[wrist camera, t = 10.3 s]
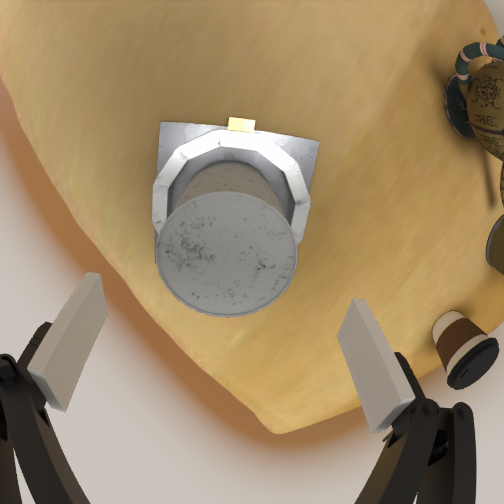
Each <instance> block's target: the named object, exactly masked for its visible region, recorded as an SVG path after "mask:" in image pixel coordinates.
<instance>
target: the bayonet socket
mask: <svg viewBox="0 0 504 504" xmlns="http://www.w3.org/2000/svg"><path fill="white" fill-rule="evenodd" d="M254 125H255V120H249V119H241V118H233V117H230V118H229V125H228V126H219V125H209V124H197V123H183V122H164V121H162V122H161V125H160V135H159V147H158V161H157V178H156V180H155V181H154V184H153V203H152V222H153V225H154V227H155V263H156V243H157V239H158V235H159V232H160V230H161V228H162V226H163V225H164V223H165V221H166V219H167V218H168V217H169V216H170V215H171V213H172V212H173V210H174V208H175V206H176V205H177V203H178V201H179V199H180V198H181V196H182V194H183V193H184V191H185V189H186V187H187V184H188V183H189V181H190V179H191V178H192V176H193V175H194V174H195V173H196V172H197V171H198V170H199V169H200V168H202V167H203V166H205V165H206V164H208V163H210V162H213V161H216V160H220V159H229V158H230V159H238V160H242V161H245V162H248V163H251V164H252V165H254V166H255V167H257V168H258V169H260V170H261V172H262V173H263V174H264V175H265V176H266V177H267V179H268V180H269V182H270V184H271V185H272V189H273V192H274V194H275V196H276V198H277V200H278V203H279V205H280V207H281V209H282V211H283V213H284V216H285V218H286V220H287V221H288V223H289V225H290V227H291V229H292V230H293V232H294V235H295V239H296V242H297V245H298V244H299V243H300V242H301V241H302V239H303V235H304V231H305V227H306V222H307V218H308V213H309V209H310V205H311V202H310V201H311V200H310V197H309V191H310V186H311V181H312V176H313V171H314V167H315V162H316V157H317V152H318V146H319V141H316V140H311V139H306V138H301V137H296V136H290V135H285V134H279V133H273V132H266V131H259V130H254Z"/></svg>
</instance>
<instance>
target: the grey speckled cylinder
mask: <svg viewBox="0 0 504 504" xmlns="http://www.w3.org/2000/svg"><path fill="white" fill-rule="evenodd" d="M297 263H298V246H297V242H296V239H295V235H294V232H293V230H292V229H291V227H290V225H289V223H288V221H287V220H286V218H285V216H284V213H283V211H282V209H281V207H280V205H279V203H278V200H277V198H276V196H275V194H274V192H273V189H272V185H271V184H270V182H269V180H268V179H267V177H266V176H265V175H264V174H263V173H262V172H261V170H260V169H258V168H257V167H255V166H254V165H252V164H251V163H248V162H245V161H242V160H238V159H230V158H229V159H220V160H216V161H213V162H210V163H208V164H206V165H205V166H203V167H202V168H200V169H199V170H198V171H197V172H196V173H195V174H194V175H193V176H192V178H191V179H190V181H189V183H188V184H187V187H186V189H185V191H184V193H183V194H182V196H181V198H180V199H179V201H178V203H177V205H176V206H175V208H174V210H173V212H172V213H171V215H170V216H169V217H168V218H167V219H166V221H165V223H164V225H163V226H162V228H161V230H160V232H159V235H158V239H157V243H156V264H157V268H158V272H159V275H160V277H161V279H162V281H163V282H164V284H165V286H166V288H167V289H168V290H169V291H170V292H171V293H172V295H173V296H174V297H175V298H176V299H178V300H179V301H180V302H182V303H183V304H184V305H185V306H187V307H189V308H191V309H193V310H195V311H197V312H199V313H203V314H207V315H210V316H216V317H227V318H228V317H239V316H244V315H248V314H252V313H255V312H257V311H259V310H261V309H264V308H266V307H268V306H269V305H270V304H272V303H273V302H274V301H276V300H277V299H278V298H279V297H280V296H281V295H282V294H283V293H284V292H285V290H286V289H287V288H288V286H289V285H290V283H291V281H292V279H293V277H294V275H295V271H296V267H297Z"/></svg>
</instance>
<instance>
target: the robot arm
mask: <svg viewBox="0 0 504 504" xmlns="http://www.w3.org/2000/svg"><path fill="white" fill-rule="evenodd" d="M107 315H108V314H107V309H106V304H105V298H104V293H103V287H102V280H101V274H99V273H92V272H87V274H86V275H85V276H84V278H83V279H82V281H81V282H80V283H79V285H78V286H77V288H76V289H75V291H74V292H73V294H72V295H71V296H70V298H69V299H68V301H67V302H66V304H65V305H64V307H63V308H62V310H61V311H60V313H59V314H58V316H57V318H56V320H55V321H54V322H53V323H49V322H45V323H44V324H42V325H41V326H40V327H39V328H38V329H37V330H36V332H35V334H34V335H33V338H31V340H30V341H29V344H28V345H27V346H26V348H25V350H24V351H23V353H22V355H21V357H20V358H19V360H18V362H17V363H16V361H15V359H14V358H13V357H12V356H11V355H9V354H0V504H22V500H21V496H20V491H19V485H18V479H17V474H16V467H15V459H14V450H15V453H16V456H17V459H18V462H19V465H20V468H21V470H22V473H23V476H24V478H25V481H26V483H27V485H28V488H29V490H30V492H31V495H32V497H33V499H34V501H35V503H36V504H90V502H89V501H88V499H87V497H86V496H85V494H84V492H83V490H82V489H81V487H80V485H79V483H78V481H77V479H76V478H75V476H74V474H73V472H72V470H71V468H70V466H69V464H68V462H67V460H66V457H65V455H64V453H63V451H62V449H61V447H60V444H59V442H58V439H57V437H56V435H55V432H54V430H53V427H52V425H51V422H50V419H49V417H48V414H47V411H46V409H45V408H44V406H45V403H46V401H47V402H48V403H49V405H50V406H51V408H54V409H57V410H59V411H63V412H66V410H67V408H68V405H69V402H70V400H71V397H72V394H73V392H74V389H75V387H76V385H77V382H78V379H79V377H80V375H81V372H82V370H83V368H84V365H85V363H86V361H87V358H88V356H89V354H90V351H91V349H92V347H93V345H94V343H95V340H96V338H97V336H98V334H99V332H100V330H101V327H102V326H103V323H104V321H105V319H106V317H107ZM337 338H338V341H339V343H340V346H341V349H342V351H343V354H344V357H345V359H346V362H347V365H348V368H349V371H350V373H351V376H352V379H353V382H354V385H355V387H356V390H357V393H358V396H359V399H360V402H361V405H362V408H363V411H364V413H365V417H366V420H367V423H368V426H369V429H370V432H371V433H376V432H381V431H385V430H386V429H387V428H388V427H389V426H390V425H392V428H393V430H392V431H391V432H390V433H389V434H388V435H387V436H386V437H385V438H384V439H383V442H384V441H386V440H387V441H386V444H385V446H384V448H383V451H382V453H381V455H380V457H379V459H378V461H377V463H376V465H375V467H374V469H373V471H372V473H371V475H370V477H369V479H368V481H367V483H366V484H365V486H364V488H363V490H362V491H361V493H360V495H359V497H358V498H357V500H356V502H355V503H354V504H413V502H414V500H415V497H416V495H417V501H416V504H475V499H476V443H475V442H476V441H475V428H474V418H473V412H472V410H471V408H470V407H469V406H468V405H467V404H466V403H463V402H458V403H457V404H455V405H454V406H453V407H452V408H441V407H439V405H438V404H437V403H436V402H435V401H433V400H431V399H428V398H427V399H426V397H425V395H424V393H423V391H422V389H421V387H420V385H419V383H418V381H417V379H416V377H415V375H414V373H413V371H412V369H410V365H409V364H408V362H407V360H406V358H405V357H404V356H403V355H402V354H401V353H400V352H393V350H392V348H391V346H390V345H389V343H388V341H387V339H386V337H385V335H384V333H383V331H382V330H381V328H380V326H379V324H378V322H377V320H376V319H375V317H374V315H373V313H372V311H371V310H370V308H369V306H368V304H367V302H366V301H365V299H352V301H351V304H350V306H349V309H348V311H347V313H346V316H345V318H344V320H343V323H342V325H341V327H340V330H339V332H338V334H337ZM13 447H14V449H13ZM417 492H418V494H417Z"/></svg>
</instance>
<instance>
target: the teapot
mask: <svg viewBox="0 0 504 504" xmlns="http://www.w3.org/2000/svg"><path fill="white" fill-rule="evenodd" d="M482 55H483V56H490V57H492V62H491V63H488V64H485V65H484V66H482V67H481V68H480V69H479V70H478V71H477V72H476V73H475V74H474V75H473V76H471V75H470V74H468V71H467V66H468V64H469V62H470V61H472V60H473V59H474V58H476V57H479V56H482ZM455 66H456V71H457V73H456V74H454V75H452V76H451V77H450V78H449V79H448V81H447V83H446V85H445V89H444V95H443V98H444V108H445V112H446V116H447V119H448V121H449V123H450V125H451V127H452V128H453V129H454V130H455V131H456V133H457V134H459V135H461V136H462V137H464V138H469V139H474V138H478V139H479V140H480V142H481V143H482V144H483V146H484V147H485V148H486V149H487V151H488V152H490V153H491V154H492V155H494V156H495V157H497V158H498V159H500V160H501V161H503V164H502V170H501V181H500V191H501V198H502V203H503V207H504V36H503V37H501V38H500V39H499V40H498V41H497V43H496V45H494V44H488V43H478V42H475V43H473V44H470V45H467V46H465V47H464V48H463V49H462V50H461V51H460V52H459V54H458V57H457V60H456V64H455Z"/></svg>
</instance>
